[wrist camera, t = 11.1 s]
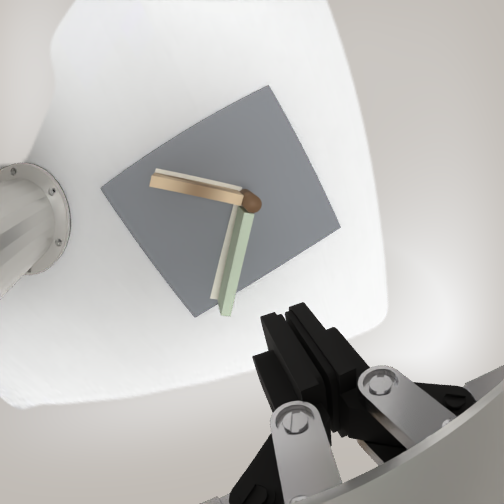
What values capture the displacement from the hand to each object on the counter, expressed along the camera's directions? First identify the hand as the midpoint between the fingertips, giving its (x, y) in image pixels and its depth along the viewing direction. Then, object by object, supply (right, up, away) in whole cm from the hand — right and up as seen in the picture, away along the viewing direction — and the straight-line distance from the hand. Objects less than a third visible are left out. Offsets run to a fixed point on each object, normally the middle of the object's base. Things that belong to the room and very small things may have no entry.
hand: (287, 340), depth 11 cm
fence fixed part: (-6, +10, +20) cm, 23 cm away
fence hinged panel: (-4, +3, +22) cm, 23 cm away
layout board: (-4, +8, +21) cm, 23 cm away
